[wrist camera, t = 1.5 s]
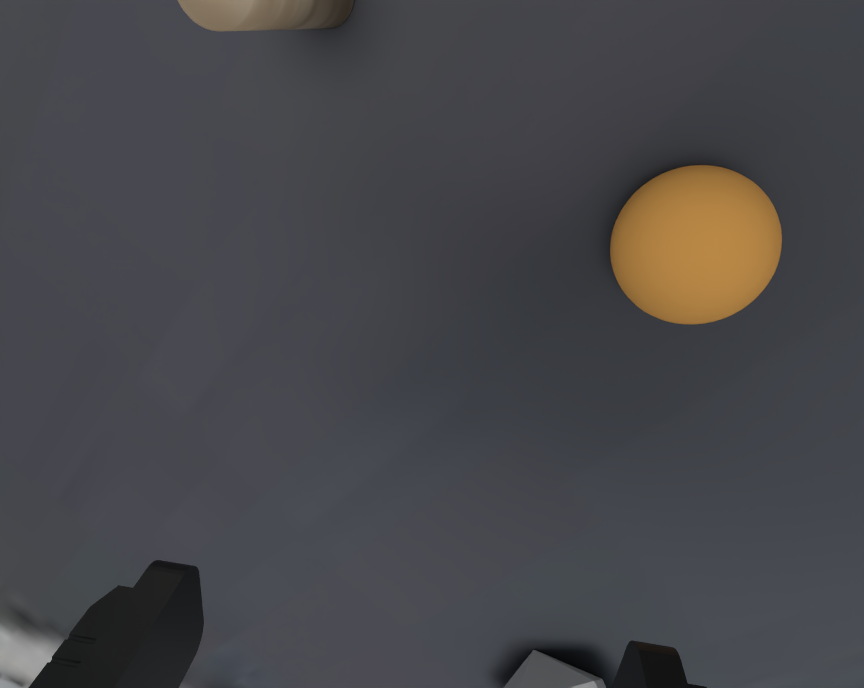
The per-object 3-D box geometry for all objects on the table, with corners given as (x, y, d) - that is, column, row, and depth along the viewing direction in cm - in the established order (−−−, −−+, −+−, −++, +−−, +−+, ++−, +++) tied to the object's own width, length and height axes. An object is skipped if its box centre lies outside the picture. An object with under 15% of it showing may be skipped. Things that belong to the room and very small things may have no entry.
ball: (713, 119, 23) (756, 147, 18) (781, 241, 25) (838, 298, 20) (579, 206, 26) (583, 251, 21) (648, 311, 28) (668, 378, 22)
